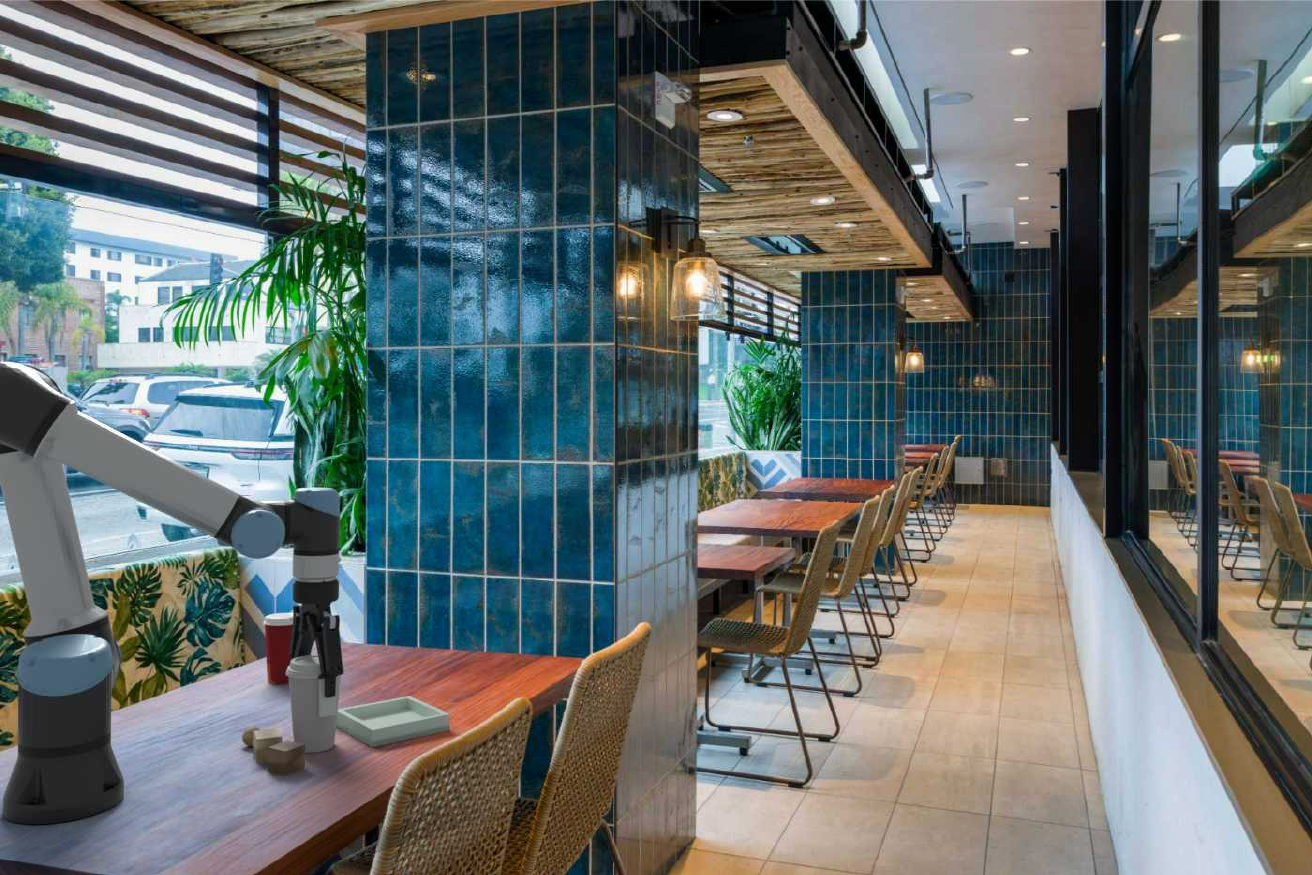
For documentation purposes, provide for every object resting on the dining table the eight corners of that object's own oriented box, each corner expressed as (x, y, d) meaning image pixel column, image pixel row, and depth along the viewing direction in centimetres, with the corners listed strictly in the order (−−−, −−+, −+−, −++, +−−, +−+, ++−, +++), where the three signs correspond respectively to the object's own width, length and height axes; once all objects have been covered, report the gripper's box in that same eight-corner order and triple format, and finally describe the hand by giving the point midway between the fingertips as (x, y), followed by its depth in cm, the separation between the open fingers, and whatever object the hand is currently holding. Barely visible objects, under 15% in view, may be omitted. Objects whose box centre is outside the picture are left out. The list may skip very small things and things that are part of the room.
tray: (372, 747, 172) (372, 729, 172) (334, 726, 183) (335, 709, 183) (449, 730, 182) (449, 713, 182) (409, 711, 193) (409, 695, 193)
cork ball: (245, 750, 169) (246, 731, 169) (239, 745, 171) (239, 726, 171) (264, 746, 171) (265, 727, 171) (258, 741, 174) (258, 723, 174)
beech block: (256, 763, 163) (256, 739, 163) (253, 754, 167) (253, 730, 167) (282, 760, 165) (282, 736, 165) (278, 751, 169) (278, 727, 169)
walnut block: (285, 776, 158) (285, 751, 157) (267, 771, 159) (267, 747, 159) (305, 768, 161) (305, 744, 161) (287, 764, 163) (287, 740, 163)
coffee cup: (325, 758, 166) (326, 668, 166) (273, 753, 168) (274, 664, 168) (353, 740, 175) (354, 655, 175) (304, 735, 177) (305, 651, 177)
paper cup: (308, 679, 214) (309, 614, 214) (278, 687, 208) (278, 620, 207) (285, 674, 218) (285, 610, 218) (254, 681, 212) (255, 616, 212)
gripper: (366, 584, 165) (364, 719, 166) (311, 568, 182) (309, 690, 182) (322, 589, 160) (320, 728, 161) (269, 572, 177) (268, 697, 177)
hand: (314, 708), depth 171 cm, fingers closed on coffee cup, 9 cm apart
